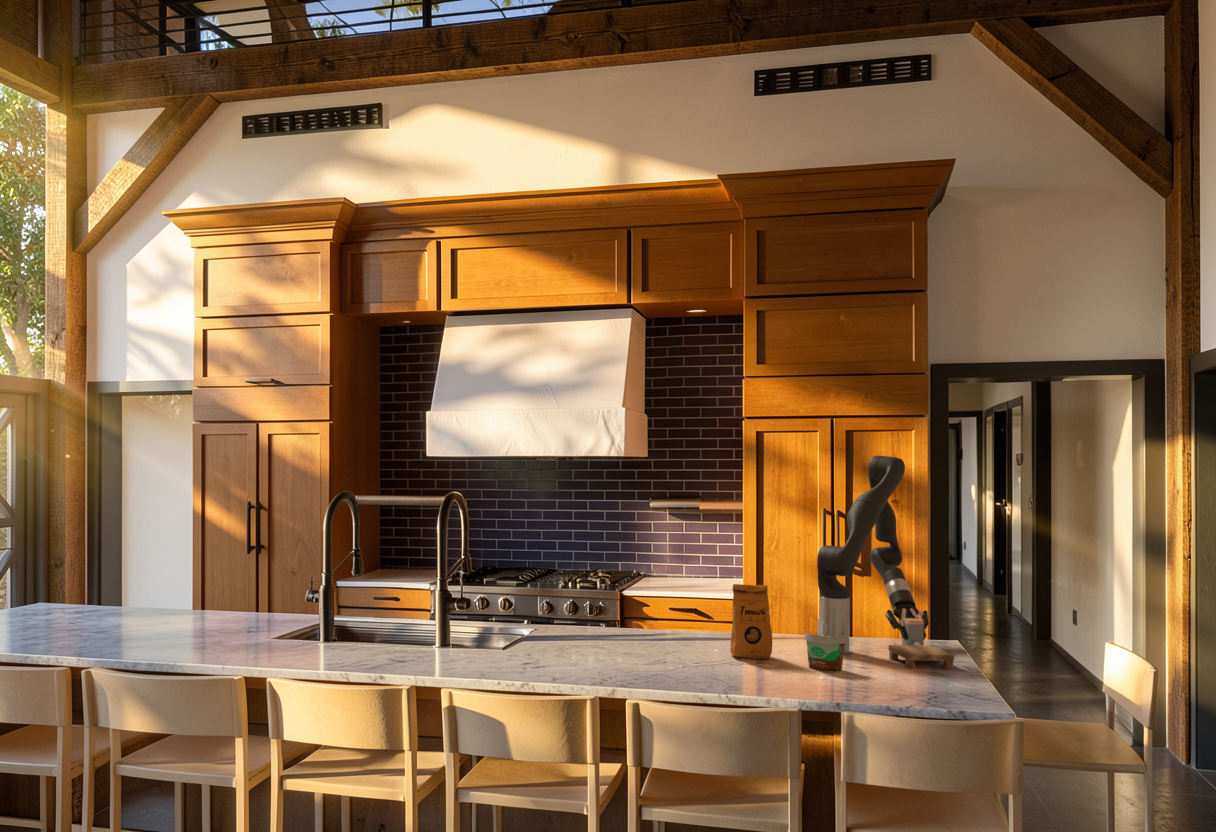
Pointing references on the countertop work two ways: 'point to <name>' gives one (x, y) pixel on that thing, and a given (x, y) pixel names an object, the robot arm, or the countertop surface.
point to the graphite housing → (914, 631)
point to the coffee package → (751, 622)
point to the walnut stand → (920, 654)
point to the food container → (825, 652)
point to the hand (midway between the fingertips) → (915, 638)
